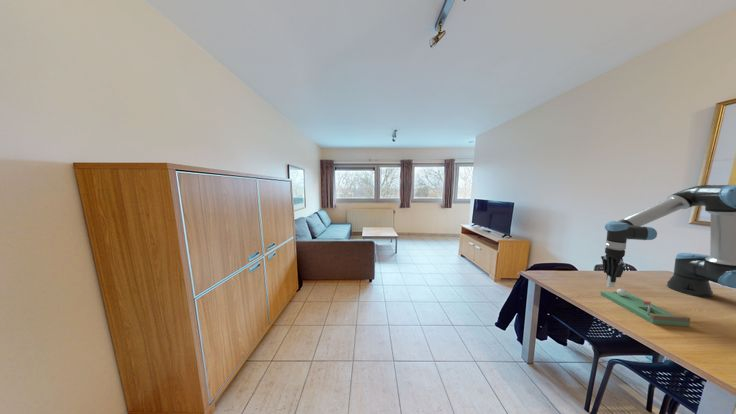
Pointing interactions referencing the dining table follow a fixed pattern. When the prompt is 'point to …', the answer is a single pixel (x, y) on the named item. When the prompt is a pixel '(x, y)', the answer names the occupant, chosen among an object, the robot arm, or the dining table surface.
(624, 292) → the ball
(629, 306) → the green
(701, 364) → the dining table surface
